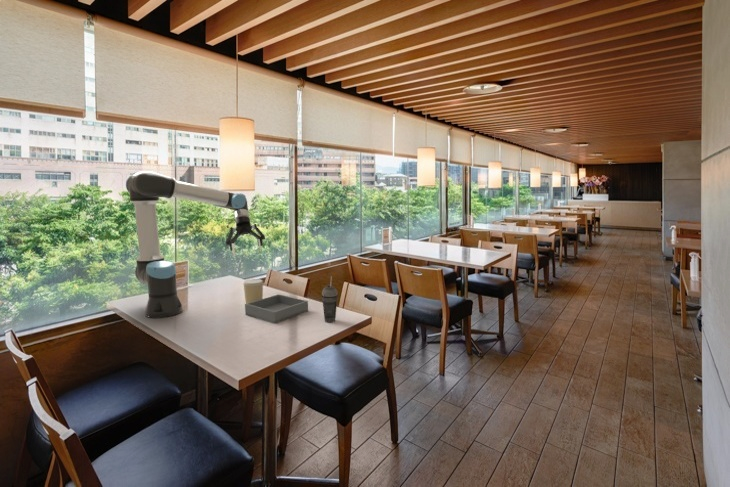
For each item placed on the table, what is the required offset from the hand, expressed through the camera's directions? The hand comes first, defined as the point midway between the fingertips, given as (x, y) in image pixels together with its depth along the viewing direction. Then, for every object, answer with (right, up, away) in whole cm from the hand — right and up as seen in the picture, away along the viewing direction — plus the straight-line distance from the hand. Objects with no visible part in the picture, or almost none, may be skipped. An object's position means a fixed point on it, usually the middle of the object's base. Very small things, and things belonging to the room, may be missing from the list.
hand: (247, 253), depth 197 cm
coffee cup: (+7, -26, -11) cm, 29 cm away
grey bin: (+21, -27, -24) cm, 42 cm away
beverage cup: (+47, -29, -34) cm, 65 cm away
